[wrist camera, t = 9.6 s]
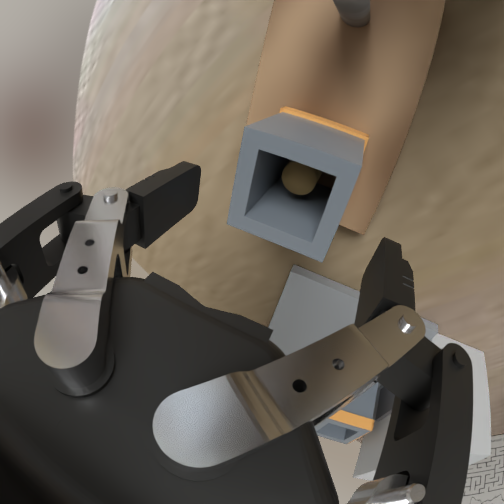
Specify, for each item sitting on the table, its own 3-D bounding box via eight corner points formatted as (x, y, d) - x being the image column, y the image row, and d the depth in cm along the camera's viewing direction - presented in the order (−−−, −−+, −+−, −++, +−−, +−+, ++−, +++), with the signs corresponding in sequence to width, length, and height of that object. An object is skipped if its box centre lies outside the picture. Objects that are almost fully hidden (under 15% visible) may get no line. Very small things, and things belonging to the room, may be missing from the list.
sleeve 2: (381, 374, 27) (372, 431, 22) (358, 394, 30) (347, 444, 25) (339, 359, 28) (323, 416, 23) (320, 381, 31) (303, 431, 26)
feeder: (489, 346, 21) (498, 451, 12) (416, 405, 29) (404, 487, 20) (293, 264, 25) (236, 380, 16) (259, 349, 34) (216, 433, 24)
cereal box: (426, 454, 37) (397, 566, 18) (435, 441, 33) (405, 569, 14) (515, 442, 27) (502, 549, 8) (530, 427, 23) (520, 545, 4)
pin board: (441, 1, 9) (466, -26, 5) (364, 225, 20) (359, 273, 16) (293, -41, 11) (261, -77, 6) (242, 178, 22) (204, 210, 18)
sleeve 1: (368, 134, 15) (368, 164, 10) (341, 207, 19) (324, 267, 14) (286, 106, 16) (241, 121, 11) (268, 179, 20) (222, 225, 14)
